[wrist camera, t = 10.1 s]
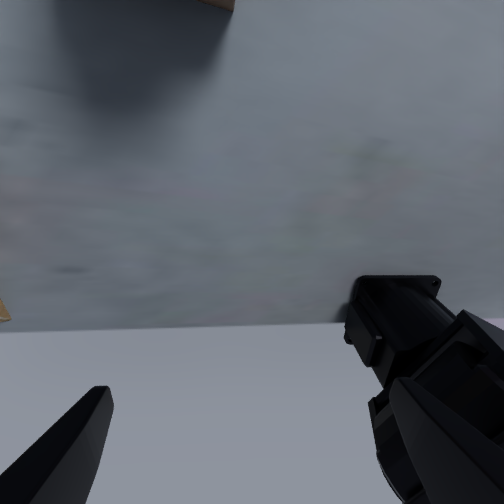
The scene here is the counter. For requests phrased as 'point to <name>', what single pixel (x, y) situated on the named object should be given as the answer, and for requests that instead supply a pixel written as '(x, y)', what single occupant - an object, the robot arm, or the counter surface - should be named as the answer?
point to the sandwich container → (4, 313)
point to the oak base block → (221, 3)
